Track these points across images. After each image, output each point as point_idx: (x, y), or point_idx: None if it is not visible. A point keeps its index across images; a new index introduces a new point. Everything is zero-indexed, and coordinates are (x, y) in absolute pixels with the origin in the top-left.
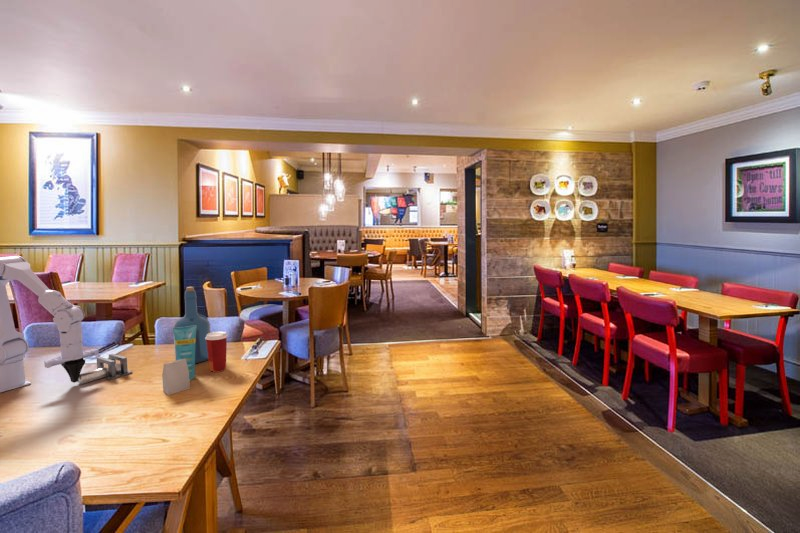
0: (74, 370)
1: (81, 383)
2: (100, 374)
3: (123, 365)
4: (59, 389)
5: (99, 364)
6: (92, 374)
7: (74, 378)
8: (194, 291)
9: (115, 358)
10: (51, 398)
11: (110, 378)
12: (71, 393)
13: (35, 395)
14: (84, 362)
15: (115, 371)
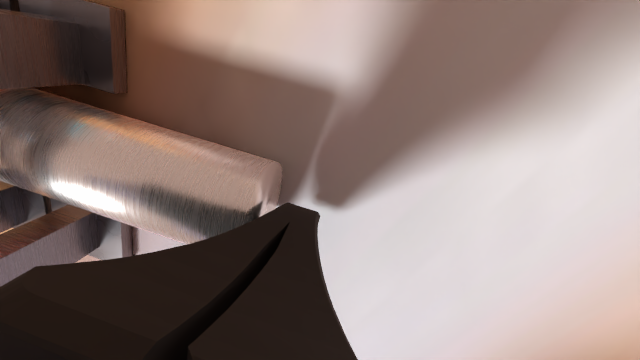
0: (279, 282)
1: (279, 174)
2: (111, 117)
3: None
4: (400, 260)
5: (9, 260)
6: (157, 153)
7: (311, 225)
8: None
9: None
10: (619, 149)
11: (101, 5)
12: (473, 67)
13: (538, 331)
14: (27, 277)
15: None
